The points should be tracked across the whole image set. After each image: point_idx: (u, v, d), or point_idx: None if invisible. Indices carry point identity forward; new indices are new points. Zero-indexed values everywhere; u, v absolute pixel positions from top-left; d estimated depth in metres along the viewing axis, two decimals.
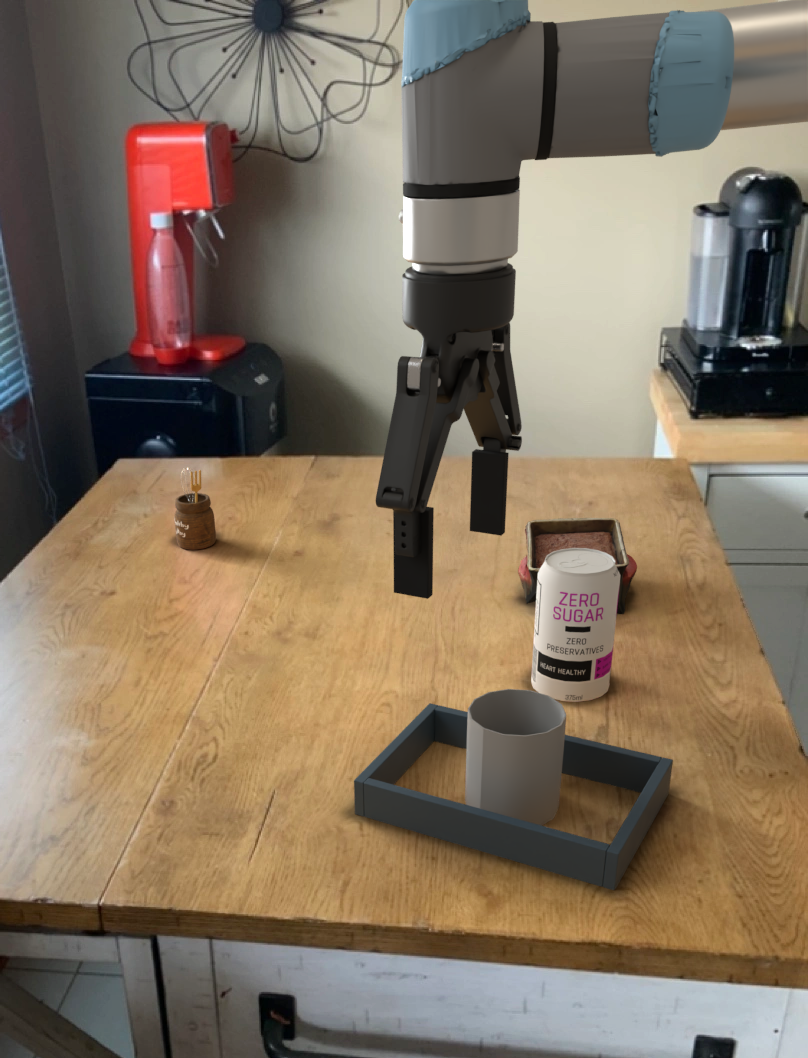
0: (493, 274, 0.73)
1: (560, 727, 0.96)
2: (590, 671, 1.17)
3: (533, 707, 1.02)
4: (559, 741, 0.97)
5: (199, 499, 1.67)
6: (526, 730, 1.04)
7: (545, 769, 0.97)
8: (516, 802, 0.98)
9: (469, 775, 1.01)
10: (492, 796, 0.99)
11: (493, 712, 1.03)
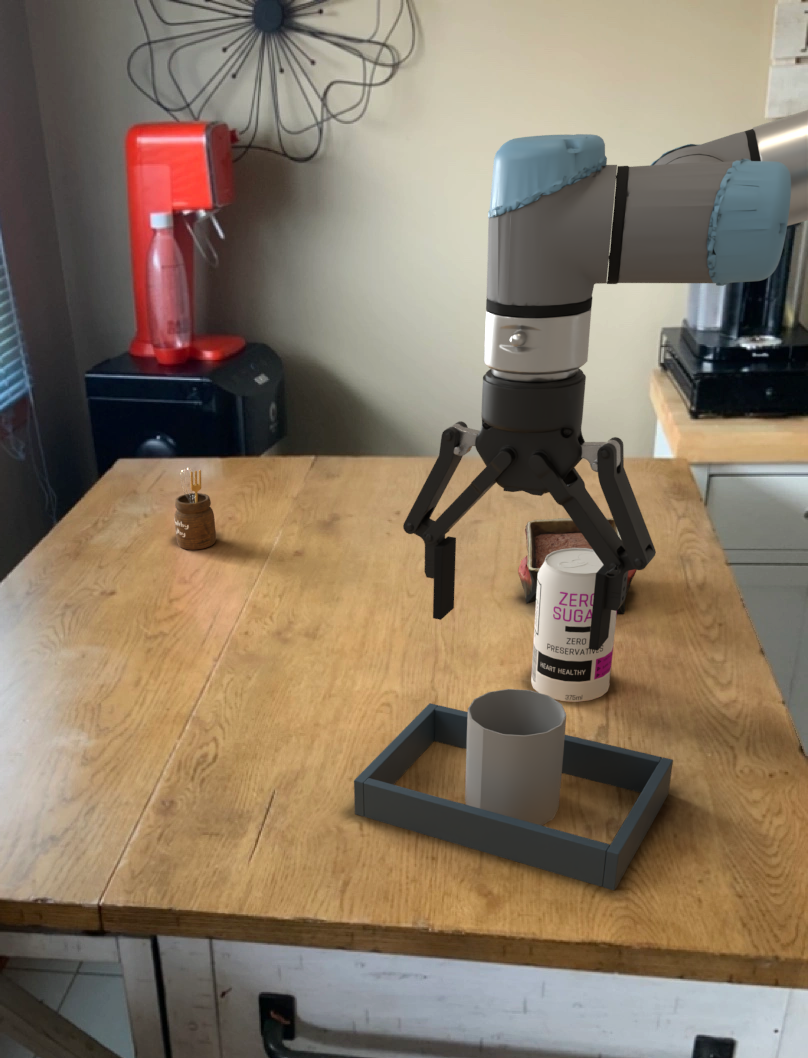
0: None
1: (560, 727, 0.96)
2: (590, 671, 1.17)
3: (533, 707, 1.02)
4: (559, 741, 0.97)
5: (199, 499, 1.67)
6: (526, 729, 1.04)
7: (545, 769, 0.97)
8: (516, 802, 0.98)
9: (469, 775, 1.01)
10: (492, 796, 0.99)
11: (493, 712, 1.03)
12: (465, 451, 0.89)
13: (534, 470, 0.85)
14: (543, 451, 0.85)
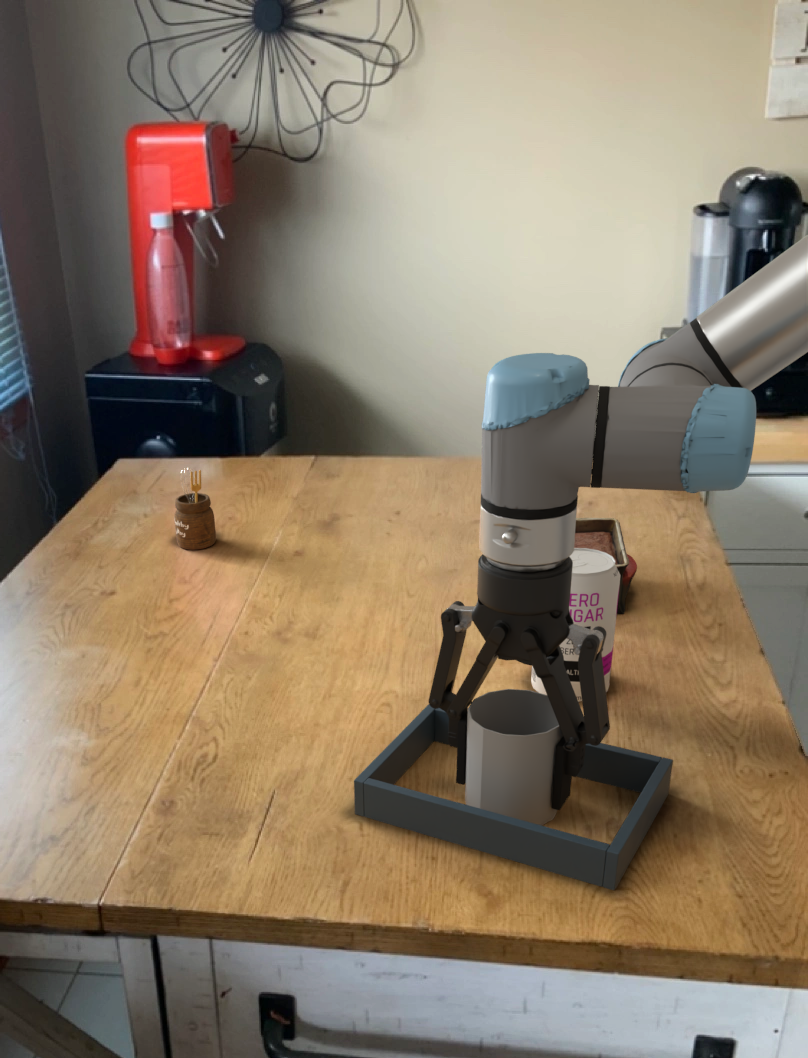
0: None
1: None
2: None
3: (533, 707, 1.02)
4: None
5: (199, 499, 1.67)
6: (526, 729, 1.04)
7: (545, 769, 0.97)
8: (516, 802, 0.98)
9: (469, 775, 1.01)
10: (492, 796, 0.99)
11: (493, 712, 1.03)
12: (466, 627, 0.97)
13: (524, 644, 0.93)
14: (534, 628, 0.93)
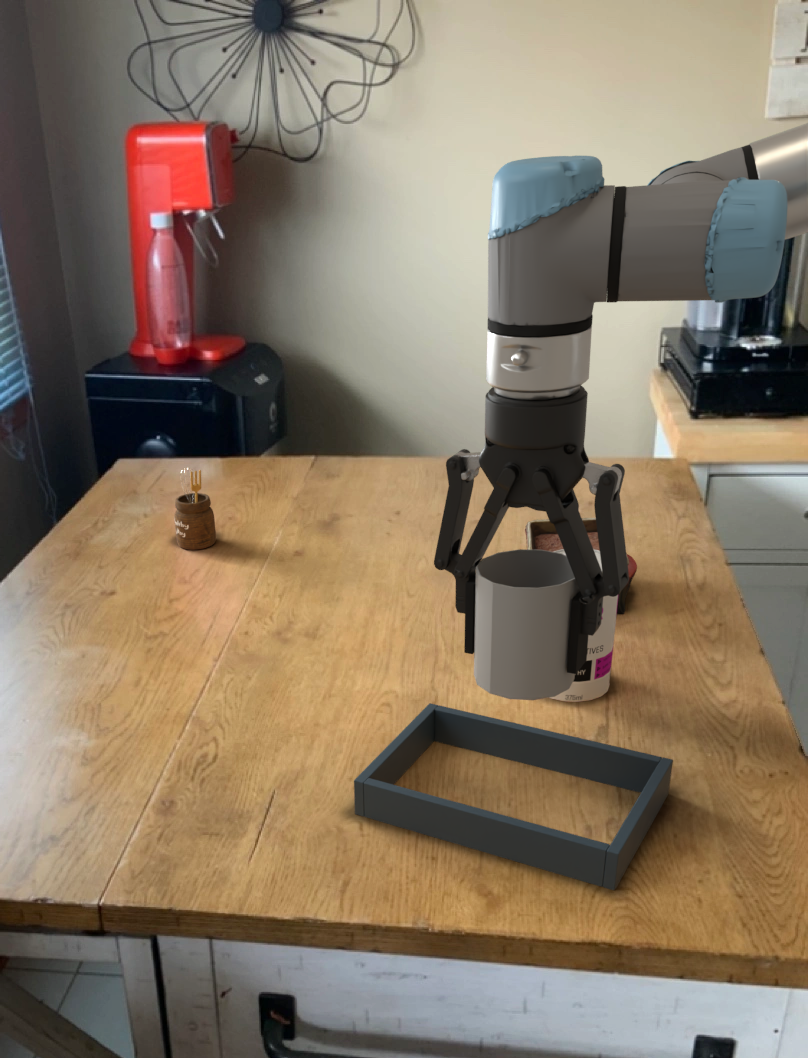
0: None
1: (575, 580, 0.90)
2: (590, 671, 1.17)
3: (545, 568, 0.95)
4: (574, 596, 0.90)
5: (199, 499, 1.67)
6: None
7: (560, 627, 0.90)
8: (529, 665, 0.92)
9: (478, 640, 0.94)
10: (503, 659, 0.92)
11: (502, 575, 0.96)
12: (473, 474, 0.90)
13: (536, 486, 0.86)
14: (546, 467, 0.86)
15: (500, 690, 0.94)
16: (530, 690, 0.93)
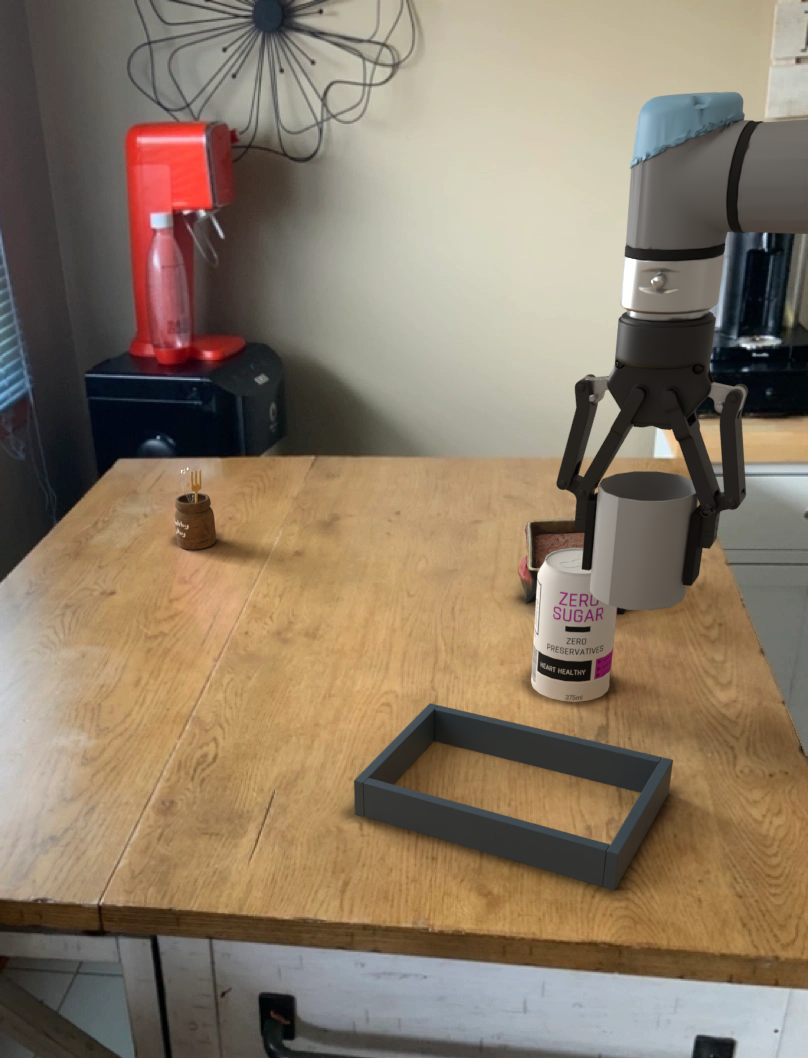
0: None
1: (695, 495, 0.96)
2: (590, 671, 1.17)
3: (660, 489, 1.02)
4: (693, 511, 0.97)
5: (199, 499, 1.67)
6: None
7: (679, 540, 0.97)
8: (649, 576, 0.98)
9: (598, 554, 1.01)
10: (624, 571, 0.99)
11: (619, 496, 1.03)
12: (600, 397, 0.97)
13: (664, 404, 0.93)
14: (674, 387, 0.92)
15: (619, 601, 1.00)
16: (648, 600, 0.99)
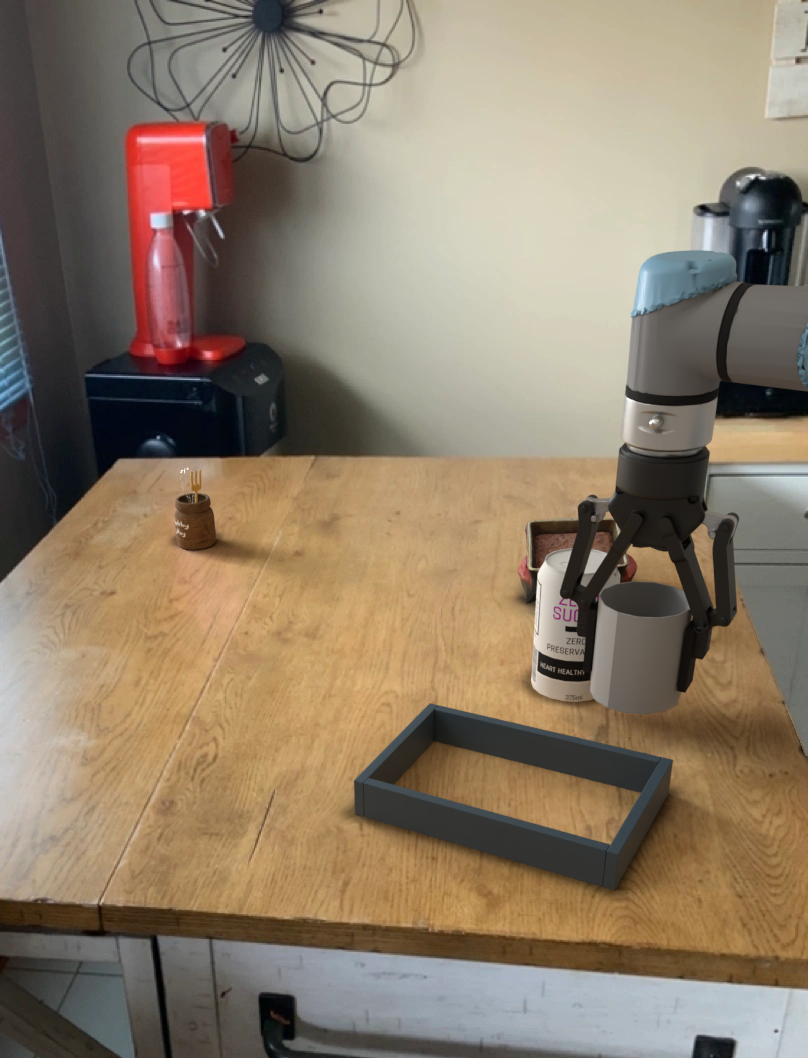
0: None
1: (690, 611, 1.03)
2: None
3: (657, 598, 1.09)
4: None
5: (199, 499, 1.67)
6: None
7: (674, 652, 1.04)
8: (646, 684, 1.05)
9: (598, 661, 1.07)
10: (622, 678, 1.05)
11: (618, 603, 1.09)
12: (601, 517, 1.03)
13: (661, 530, 0.99)
14: (671, 514, 0.99)
15: (617, 705, 1.07)
16: (645, 706, 1.06)
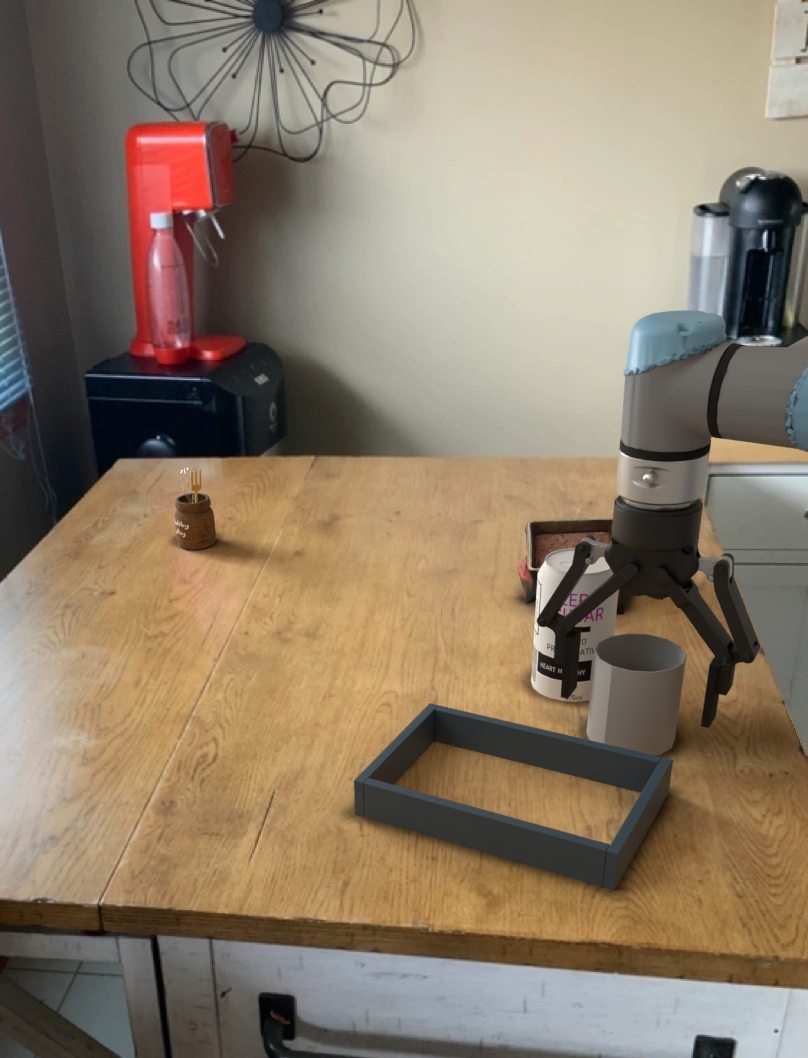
0: None
1: (682, 665, 1.05)
2: (590, 671, 1.17)
3: (651, 650, 1.11)
4: (680, 678, 1.06)
5: (199, 499, 1.67)
6: None
7: (667, 704, 1.06)
8: (640, 735, 1.08)
9: (594, 711, 1.10)
10: (617, 729, 1.08)
11: (613, 655, 1.12)
12: (595, 561, 1.05)
13: (658, 580, 1.01)
14: (665, 564, 1.01)
15: None
16: None
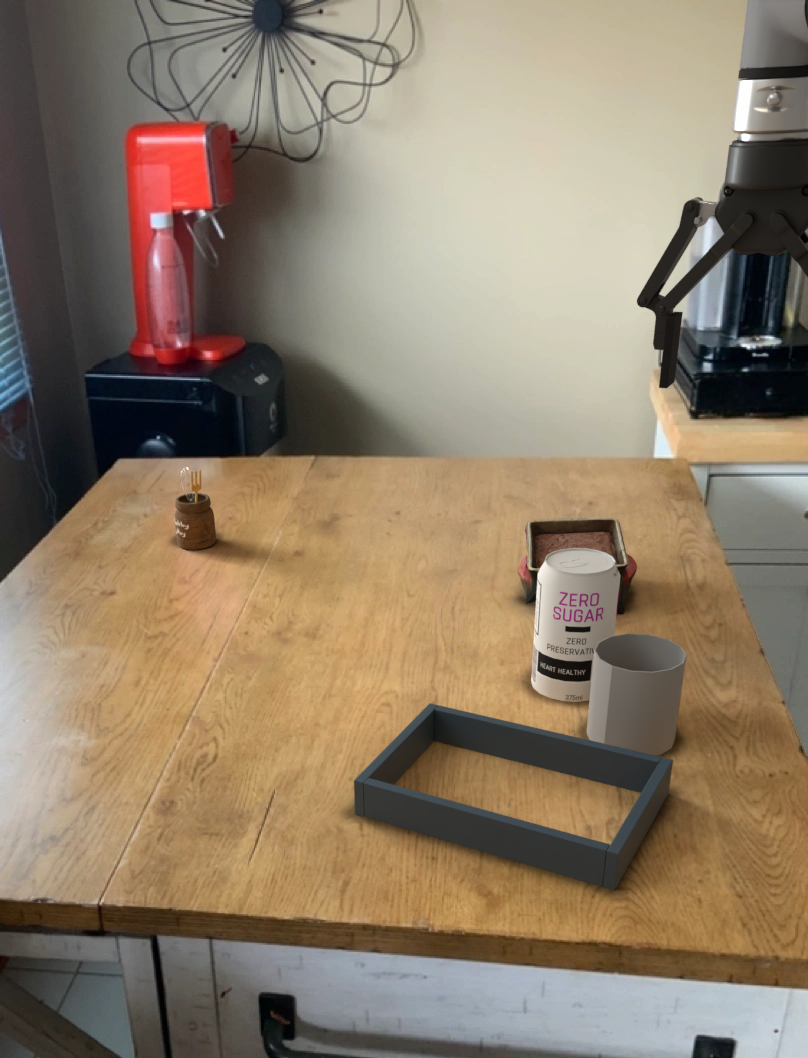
0: None
1: (682, 665, 1.05)
2: (590, 671, 1.17)
3: (651, 650, 1.11)
4: (680, 678, 1.06)
5: (199, 499, 1.67)
6: None
7: (667, 704, 1.06)
8: (640, 735, 1.08)
9: (594, 711, 1.10)
10: (617, 729, 1.08)
11: (613, 655, 1.12)
12: (703, 221, 1.00)
13: (774, 229, 0.97)
14: (783, 211, 0.96)
15: None
16: None
